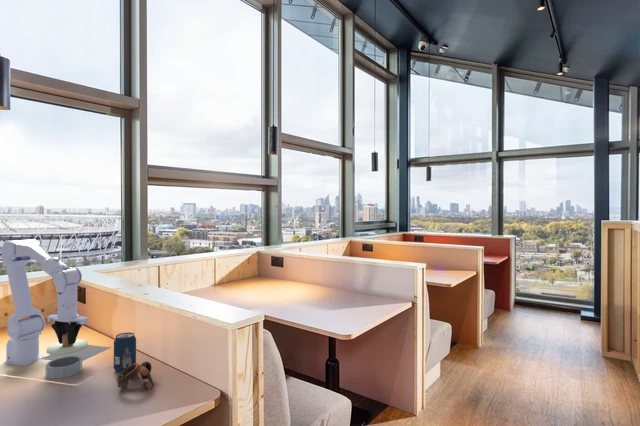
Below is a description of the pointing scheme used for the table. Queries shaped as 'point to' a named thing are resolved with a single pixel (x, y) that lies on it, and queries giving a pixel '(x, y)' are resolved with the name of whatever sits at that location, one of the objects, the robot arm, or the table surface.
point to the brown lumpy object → (136, 374)
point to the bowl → (63, 367)
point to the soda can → (124, 351)
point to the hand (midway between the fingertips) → (67, 343)
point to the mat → (81, 353)
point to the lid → (66, 346)
